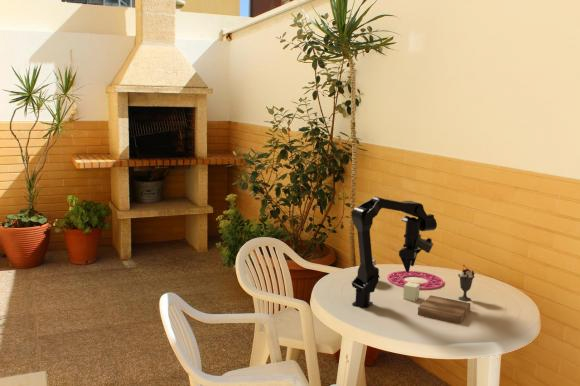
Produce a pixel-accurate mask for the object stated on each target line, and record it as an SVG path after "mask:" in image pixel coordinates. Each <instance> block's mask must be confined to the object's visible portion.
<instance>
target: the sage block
mask: <svg viewBox="0 0 580 386" xmlns="http://www.w3.org/2000/svg"><path fill="white" fill-rule="evenodd" d="M416 283H417V282H416ZM416 283H415V282H411V281H410V282H409V281H407V283H406V284H405V285H404V288H403V294H402V295H403V296H402V298H403V300H406V301H409V302H416V301H417V300H418V299H419V298H420V290H419V286H420V284H416Z"/></svg>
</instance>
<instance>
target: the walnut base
mask: <svg viewBox="0 0 580 386" xmlns="http://www.w3.org/2000/svg"><path fill="white" fill-rule="evenodd" d="M471 304H472V303H470V302H468V301H462V300H457V299H456V300H455V299H451V298H446V297H442V296H441V297H440V296H436V295H431V294H430V295H429V296H428V297H427V298H426V299H425V300H424V301H422V303H421V304H420V305H419V306H418V307H417V315H419V316H423V317H428V318H432V319H437V320H440V321H444V322H445V321H446V322H450V323H453V324H454V323H455V324H458V325H460V324H461V323H462V322H463V320H464V319H466V317H467V315H468V314H469V312H471Z"/></svg>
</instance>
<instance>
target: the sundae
mask: <svg viewBox="0 0 580 386" xmlns="http://www.w3.org/2000/svg"><path fill="white" fill-rule="evenodd" d="M462 266H463V267H465V268H463V269H462V270H461V272H460V273H458V274H457V276H458V278H459V285H460V289H461V290H462V291H463V295H462V296H459V297H458V299H459V301H462V302H470V301H471V298H470V297H468V296H467V292H469V290H470V289H471V288H472V285H473V280H474V279H475V278H476V276H475V271H474V270H470V269H469V268H467V267H466V265H465V264H463V265H462Z"/></svg>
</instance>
